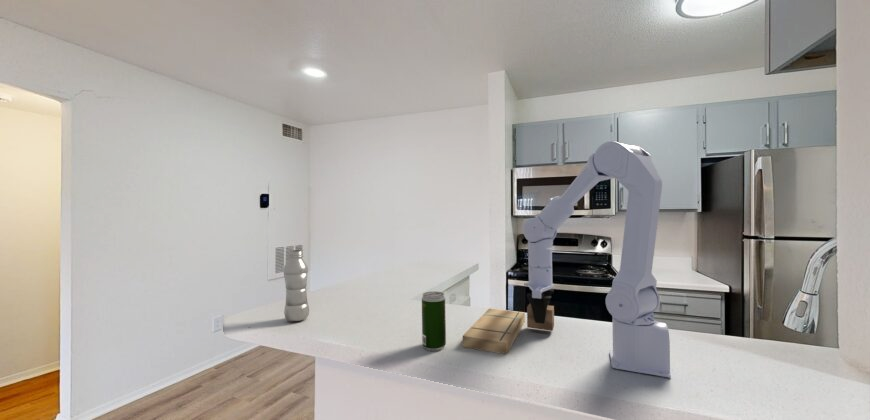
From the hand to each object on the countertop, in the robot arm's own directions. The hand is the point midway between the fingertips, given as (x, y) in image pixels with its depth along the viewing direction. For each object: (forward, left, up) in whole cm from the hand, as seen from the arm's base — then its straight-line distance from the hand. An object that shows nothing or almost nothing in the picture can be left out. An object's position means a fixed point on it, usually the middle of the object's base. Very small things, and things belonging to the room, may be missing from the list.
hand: (541, 319), depth 84 cm
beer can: (+21, +19, -3) cm, 28 cm away
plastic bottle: (+65, +18, -3) cm, 68 cm away
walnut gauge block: (0, 0, -2) cm, 2 cm away
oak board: (+10, +5, -3) cm, 12 cm away
